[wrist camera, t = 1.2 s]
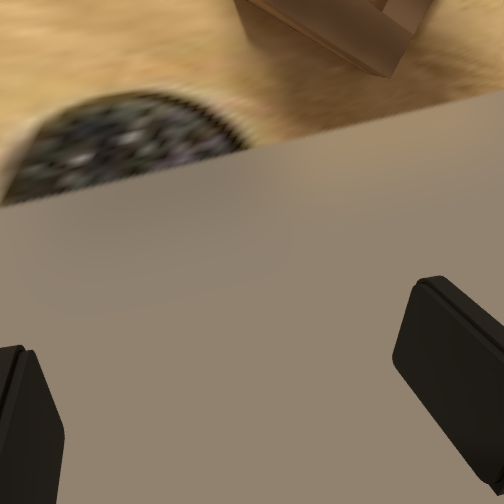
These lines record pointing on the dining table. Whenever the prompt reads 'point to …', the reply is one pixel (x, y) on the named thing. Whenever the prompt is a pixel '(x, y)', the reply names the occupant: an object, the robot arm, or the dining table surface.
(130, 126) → the dining table surface
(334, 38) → the socket block
